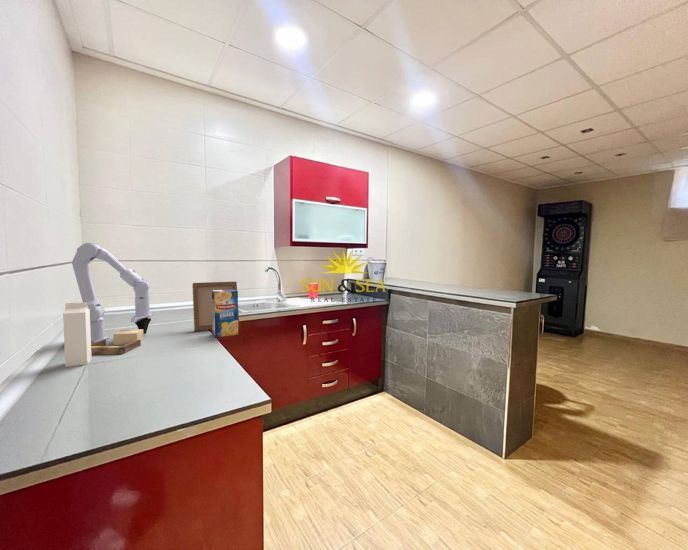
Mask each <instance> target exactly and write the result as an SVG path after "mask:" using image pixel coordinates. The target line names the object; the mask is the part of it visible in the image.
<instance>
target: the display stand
mask: <svg viewBox="0 0 688 550" xmlns="http://www.w3.org/2000/svg"><path fill="white" fill-rule="evenodd" d="M106 342H107V341H106V339H104V340H100V341H97V342H91V355H124V354H126V353H128V352H131V351H132V350H134V349H136V348H139V347H141V345H142V341H141V340H135V341H133V342H131V343H129V344H125V345H121V346H120V345H110V346H109V345H108V346H107V344H106Z"/></svg>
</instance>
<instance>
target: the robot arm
mask: <svg viewBox="0 0 688 550" xmlns="http://www.w3.org/2000/svg"><path fill="white" fill-rule="evenodd" d="M75 252H76V253H75V255H74V256H73V259H72V260H71V263H72V268H73V271H74V274H75V275H74V276H75V278H76V283H77V286H78V290H79V293H80V297H81V300H82V303H83V302H87V307H88V308H89V309H90V332H91V343H95V342H97V341H100V340H106V339H110V336H105V318H103V316H104V314H105V308H104V307H103V306H102V305H101V302H100V301H99V299H98V297H97V294H96V289H95V286H94V283H93V278H92V275H91V272H90V268H89V265H90V263H92V261H93V260H95V259H97V260H101V261H105V262H106V263H107V264H108V265H110V266H111V267H112V268H113V269H114V270H116V271H117V272H118V273H119V277H120V279H122V280H123V281H124V282H125V283H126V284H127V285H128V286H130V287H132V289H133V291H134V292H135V293H134V294H135V296H134V307H135V308H134V309H135V310H134V311H135V313H134V314H135V315H134V316H132V317H131V318H130V323H134V324H135V325H136V327H137V330H139V329H143V334H144V335H146V334H147V333H148V328H149V324H150V323H151V321H152V318H151V317H154V312H152V311H150V293H149V290H150V284H149V282H148V281H147V280H145V278H144V277H141V276H140V275H139V274H138V273H137V270H135V269H132V268H126V267H125V266H124V264H122V263H121V262H120V261H119V260H118V259H117V258H116V257H115V256H114V255H113V254H112V253H111V252H110V251H108V250H107V249H106V248H104V247H103V246H102V245H101V244H99V243H96V242H95V243H92V242H85V243H83V244H81V245H80V246H79V247H78V248H76V251H75Z"/></svg>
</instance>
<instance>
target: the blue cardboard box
mask: <svg viewBox="0 0 688 550" xmlns="http://www.w3.org/2000/svg"><path fill="white" fill-rule="evenodd" d="M238 312H239V291H238V289H237V290H215V291H212V329H211V330H212V333H211V334H212V335H213V337H214V338H221V337H231V336H237V335H239V326H238Z"/></svg>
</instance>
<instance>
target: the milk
mask: <svg viewBox="0 0 688 550" xmlns="http://www.w3.org/2000/svg"><path fill="white" fill-rule="evenodd" d="M62 322H63V343H64V345H63V346H64V365H65V368H68V367H76V366H85V365H88V364H89V363H90V362H91V360H92V354H91V344H92V342H91V332H90V309H89V308H88V307H87V302H83V301H82V302H67V303H65V308H64V311H63V313H62Z"/></svg>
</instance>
